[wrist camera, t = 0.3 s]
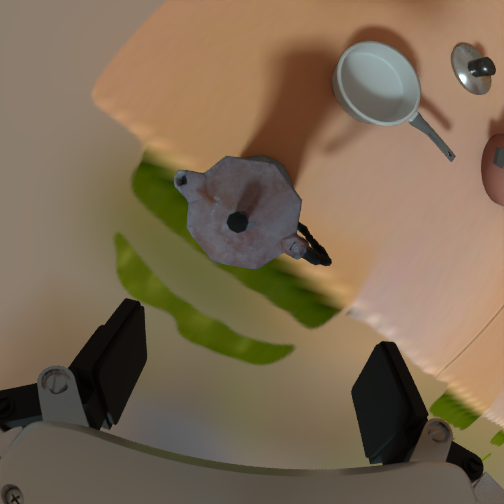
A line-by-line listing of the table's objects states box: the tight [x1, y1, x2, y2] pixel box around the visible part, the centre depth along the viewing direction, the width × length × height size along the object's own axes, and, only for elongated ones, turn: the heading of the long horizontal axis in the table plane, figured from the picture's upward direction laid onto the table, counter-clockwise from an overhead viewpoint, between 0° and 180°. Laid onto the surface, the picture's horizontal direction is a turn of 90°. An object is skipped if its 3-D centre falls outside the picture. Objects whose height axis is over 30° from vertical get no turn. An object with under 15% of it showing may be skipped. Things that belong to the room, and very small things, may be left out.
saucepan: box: [332, 40, 456, 162], centre depth 30 cm, size 12×20×6 cm, turn 54°
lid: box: [451, 45, 496, 95], centre depth 25 cm, size 9×9×6 cm
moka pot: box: [174, 156, 332, 269], centre depth 29 cm, size 10×15×20 cm, turn 64°
